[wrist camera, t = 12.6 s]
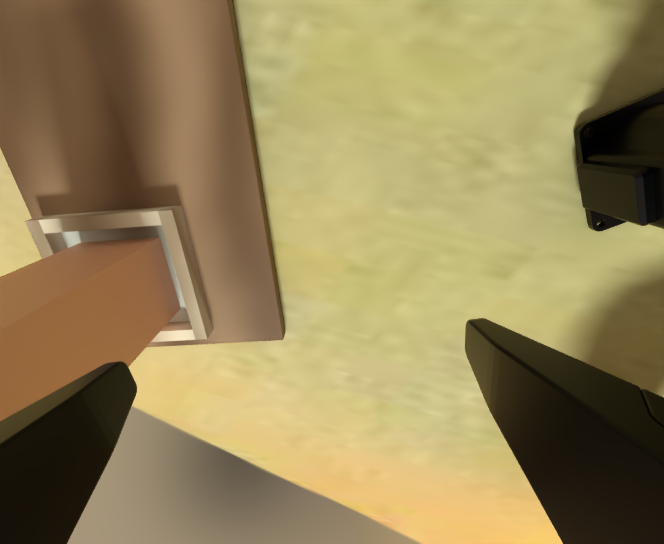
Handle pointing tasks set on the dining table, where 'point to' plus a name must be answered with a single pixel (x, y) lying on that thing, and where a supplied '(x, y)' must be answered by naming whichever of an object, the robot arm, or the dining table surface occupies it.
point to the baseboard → (143, 149)
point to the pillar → (80, 315)
